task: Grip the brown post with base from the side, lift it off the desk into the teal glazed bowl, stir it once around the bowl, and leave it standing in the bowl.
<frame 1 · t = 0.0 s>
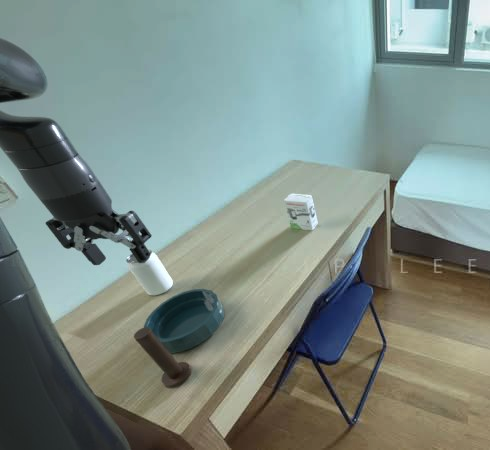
hand: (123, 261, 59), 25 cm above the table, tool pointing down, fingers open, 8 cm apart
bowl: (191, 326, 77), on the table
can: (161, 288, 88), on the table
ink box: (305, 226, 111), on the table
brown post with base: (178, 376, 66), on the table
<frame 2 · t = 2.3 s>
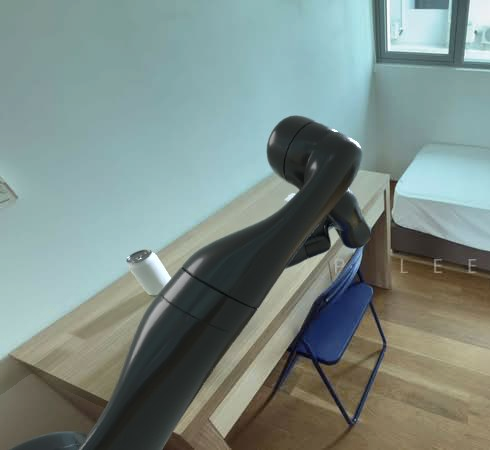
hand: (194, 283, 58), 22 cm above the table, tool horizontal, fingers open, 8 cm apart
nothing on the table moved.
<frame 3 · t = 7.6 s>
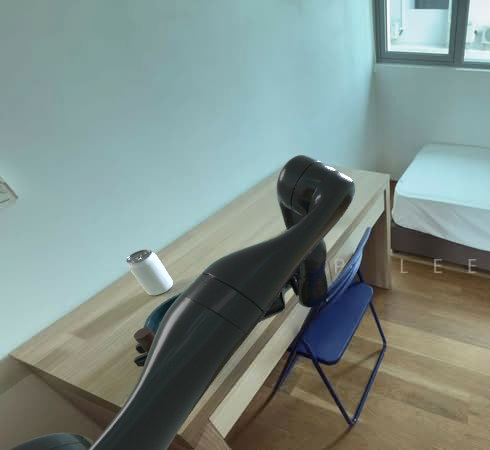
hand: (137, 356, 59), 10 cm above the table, tool horizontal, fingers closed on brown post with base, 2 cm apart
brown post with base: (178, 376, 66), on the table, touching gripper
everything else where it was.
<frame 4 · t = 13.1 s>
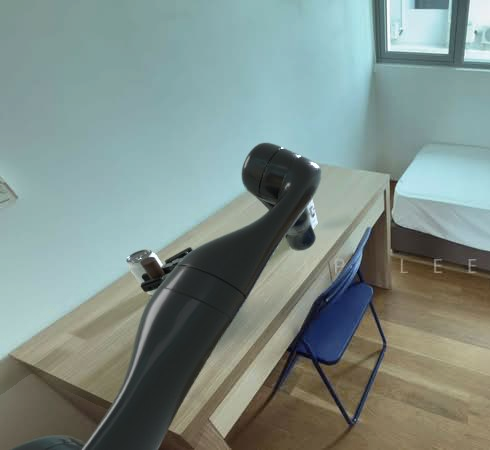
hand: (143, 283, 66), 17 cm above the table, tool horizontal, fingers closed on brown post with base, 2 cm apart
brown post with base: (180, 308, 73), point 7 cm above the table, touching gripper
everything else where it was.
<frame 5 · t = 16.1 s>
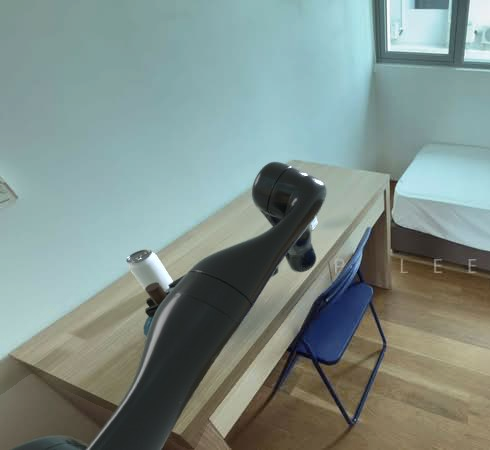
hand: (147, 308, 67), 11 cm above the table, tool horizontal, fingers closed on brown post with base, 2 cm apart
brown post with base: (183, 330, 74), point 1 cm above the table, touching gripper
everything else where it was.
when the fingers open (11 cm above the table, at t = 18.5 s): brown post with base stays where it is, resting on bowl.
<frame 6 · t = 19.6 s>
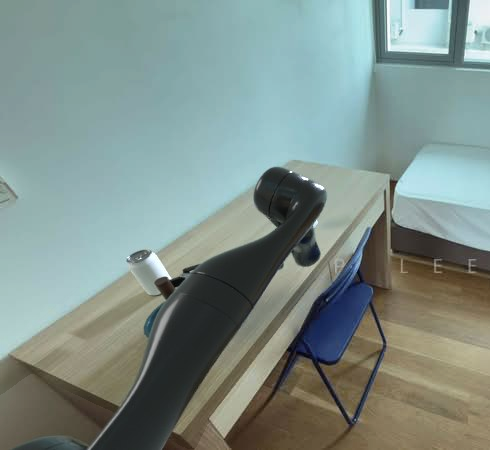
hand: (162, 298, 70), 11 cm above the table, tool horizontal, fingers open, 8 cm apart
brown post with base: (190, 323, 76), point 1 cm above the table, touching bowl
everything else where it was.
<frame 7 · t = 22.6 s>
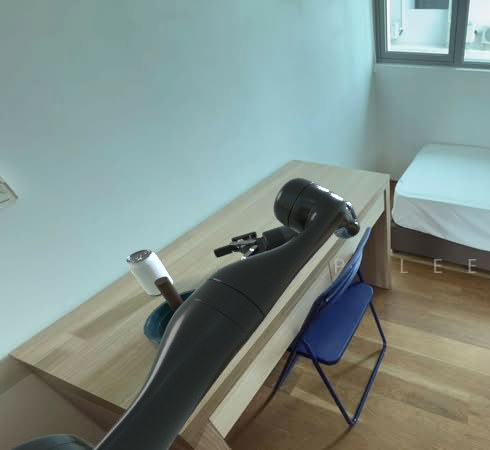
hand: (216, 263, 72), 15 cm above the table, tool horizontal, fingers open, 8 cm apart
nothing on the table moved.
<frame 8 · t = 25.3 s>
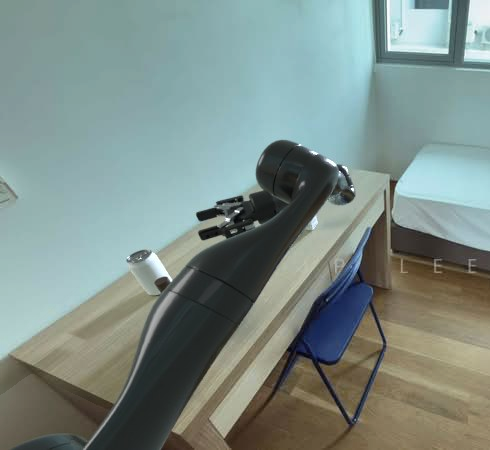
hand: (198, 226, 66), 26 cm above the table, tool horizontal, fingers open, 8 cm apart
nothing on the table moved.
at the end: brown post with base inside the target area in the bowl (0.1 cm from its centre), point 0.8 cm above the bowl's base; brown post with base tilted 0°; the gripper is holding nothing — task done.
